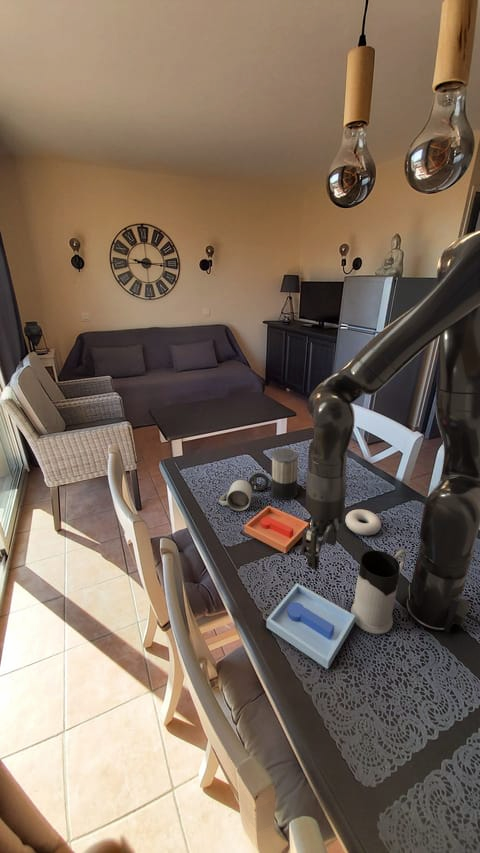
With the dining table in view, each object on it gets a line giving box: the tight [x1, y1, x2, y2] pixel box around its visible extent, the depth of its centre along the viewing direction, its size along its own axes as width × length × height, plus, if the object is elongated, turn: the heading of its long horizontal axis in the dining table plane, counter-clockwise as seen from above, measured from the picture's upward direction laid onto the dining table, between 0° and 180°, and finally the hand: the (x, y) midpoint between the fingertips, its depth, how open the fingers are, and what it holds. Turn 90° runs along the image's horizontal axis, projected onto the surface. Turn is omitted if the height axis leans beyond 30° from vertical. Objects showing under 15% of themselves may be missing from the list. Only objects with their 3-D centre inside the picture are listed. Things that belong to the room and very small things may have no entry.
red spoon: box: [261, 517, 294, 538], centre depth 105 cm, size 10×4×2 cm, turn 51°
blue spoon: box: [288, 602, 334, 640], centre depth 77 cm, size 10×4×2 cm, turn 50°
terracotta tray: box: [243, 505, 310, 554], centre depth 105 cm, size 14×12×2 cm
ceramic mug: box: [218, 479, 253, 512], centre depth 117 cm, size 11×8×8 cm
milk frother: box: [247, 447, 300, 500], centre depth 123 cm, size 14×16×15 cm
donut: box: [344, 508, 382, 536], centre depth 106 cm, size 10×4×10 cm
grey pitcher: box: [350, 549, 407, 635], centre depth 78 cm, size 9×14×15 cm, turn 126°
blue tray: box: [266, 582, 356, 670], centre depth 77 cm, size 14×12×2 cm
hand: (322, 554), depth 76 cm, fingers open, 8 cm apart
